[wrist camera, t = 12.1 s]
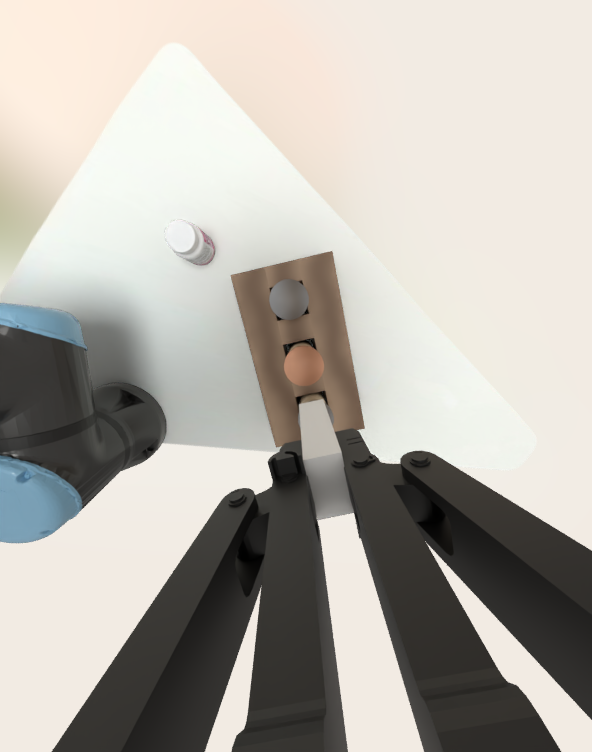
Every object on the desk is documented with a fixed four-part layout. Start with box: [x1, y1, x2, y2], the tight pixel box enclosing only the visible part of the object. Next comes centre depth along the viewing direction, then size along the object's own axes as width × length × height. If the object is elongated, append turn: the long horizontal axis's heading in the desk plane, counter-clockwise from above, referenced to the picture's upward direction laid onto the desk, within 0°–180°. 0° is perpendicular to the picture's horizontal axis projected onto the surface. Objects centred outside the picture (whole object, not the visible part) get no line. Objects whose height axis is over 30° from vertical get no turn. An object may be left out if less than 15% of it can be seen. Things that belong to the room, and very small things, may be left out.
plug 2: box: [298, 391, 334, 428], centre depth 44 cm, size 5×5×12 cm
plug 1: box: [269, 279, 309, 320], centre depth 40 cm, size 5×5×12 cm
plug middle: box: [284, 340, 324, 386], centre depth 40 cm, size 5×5×12 cm
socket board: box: [231, 251, 365, 447], centre depth 45 cm, size 14×26×8 cm, turn 13°
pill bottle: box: [165, 220, 215, 265], centre depth 41 cm, size 5×5×8 cm
